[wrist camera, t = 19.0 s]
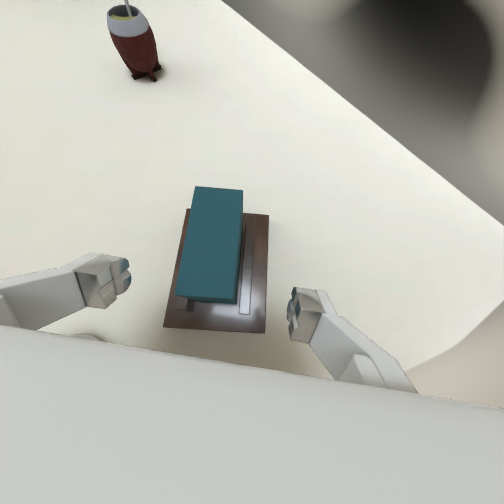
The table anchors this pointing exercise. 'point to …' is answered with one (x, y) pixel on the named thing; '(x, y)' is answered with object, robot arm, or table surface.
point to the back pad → (212, 247)
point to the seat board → (248, 295)
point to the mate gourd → (133, 40)
